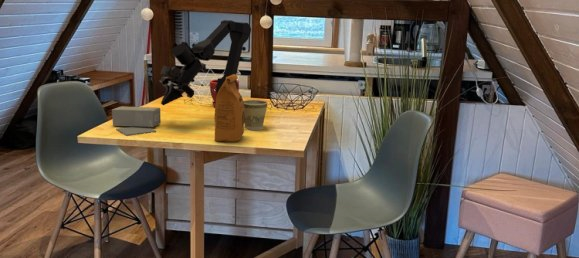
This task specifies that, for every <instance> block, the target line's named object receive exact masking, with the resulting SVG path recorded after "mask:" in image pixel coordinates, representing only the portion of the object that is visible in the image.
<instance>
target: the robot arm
mask: <svg viewBox="0 0 579 258" xmlns="http://www.w3.org/2000/svg"><path fill="white" fill-rule="evenodd" d="M251 32H252V28H251V25H250V24H249V22H243V21H234V20H232V19H229V20H228V19H224V20H221V21H220V24H219V25H217V27H216V28H215V29H214V30H213V31H212V32H211V33H209V35H208V36H207V37H206V38H205V39H203V40H201V41H198V42H197V43H195V44H194V45H193V46H192V47H190V45H189V43H187V41H181V43H179V44H177V45H175V47H173V48H172V51H171V53H172V56H174V58H175V59H176V60H177V61H178V63H179V64H180V65H182V66H183V67H181V68H179V67H176V66H175V65H174V66H171V67H169V66H167V65H166V66H165V65H163V66H162V69H161V71H160V75H163V76H162V77H161V78H160V79H159V82H160V83H161V84H162V86H164V88H165V92H164V95H163V97H162V100H161V101H160V105H162V106H166V105H168V104H169V103H172V102H173V101H174V102H175V101H176V100H178V99H181V98H183V97H184V94H185V95H186V97H187V98H189V99H192V98H193V97H194V95H195V90H194V89H193V88H192V87H191V86H190V84H191V83H194V82H195V78H196V77H197V75H198V74H199V73H200V72H201V71H202V72H204V73H205V72H207V67H206V66H207V64H205V63H204V62H205V61H206V62H208V61H210V60H211V59H212V57H213V56H214V55H215V52H216V48H217V47H218V46H219V44H220V43H222V42H223V40H224V39H225V38H226V37H228V36H229V38H230V41H231V43H230V46H229V52H228V56H227V60H226V64H225V67H224V74H223V76H221V77H220V78H219V77H218V78H217V79H218V80H217V79H216V80H217V85H216V93H217V94H218V91H219V89H220V88H221V86H222V85H223V83H224V82H225V80H226V77H228V76H231V75H233V74H235V75H236V76H237V75H238V74H237V73H238V70H239V65H240V62H241V61H240V60H241V55H242V52H243V48H244V45H245V43H247V41H248V40H249V38H250V35H251ZM202 61H204V62H202ZM236 80H237V79H236ZM236 80H235V81H234V82H235V85H236V88H238V84H237V81H236Z"/></svg>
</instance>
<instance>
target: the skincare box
mask: <svg viewBox="0 0 579 258" xmlns="http://www.w3.org/2000/svg"><path fill="white" fill-rule="evenodd" d="M111 115H112V116H111V117H112V126H114V127H149V128H153V127H156V126H158V125H160V124H161V121H162V120H161V107H150V106H149V107H148V106H147V107H146V106H123V105H122V106H118V107H116V108H113V109H111Z"/></svg>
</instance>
